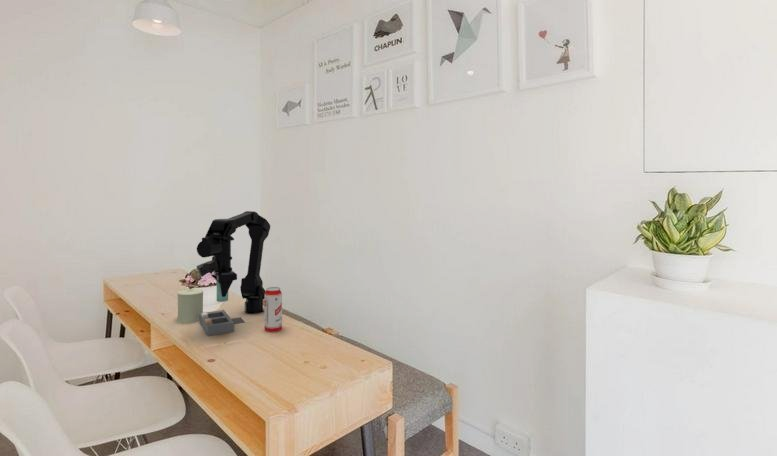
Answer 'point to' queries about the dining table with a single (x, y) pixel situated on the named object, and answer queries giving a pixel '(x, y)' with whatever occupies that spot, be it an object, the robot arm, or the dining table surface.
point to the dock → (216, 322)
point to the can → (190, 305)
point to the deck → (238, 320)
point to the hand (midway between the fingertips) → (222, 295)
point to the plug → (219, 294)
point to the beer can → (273, 309)
